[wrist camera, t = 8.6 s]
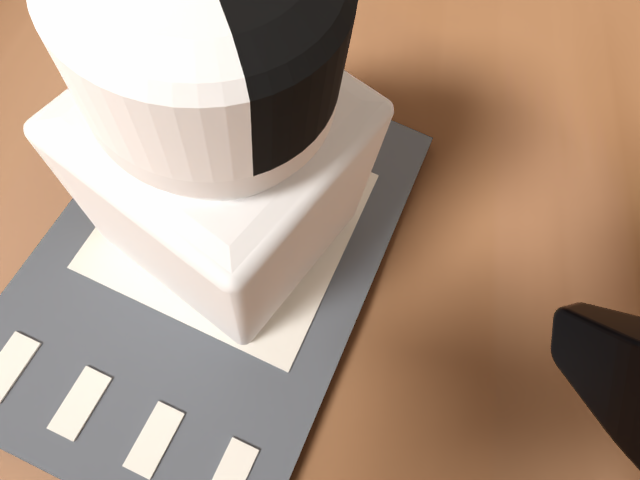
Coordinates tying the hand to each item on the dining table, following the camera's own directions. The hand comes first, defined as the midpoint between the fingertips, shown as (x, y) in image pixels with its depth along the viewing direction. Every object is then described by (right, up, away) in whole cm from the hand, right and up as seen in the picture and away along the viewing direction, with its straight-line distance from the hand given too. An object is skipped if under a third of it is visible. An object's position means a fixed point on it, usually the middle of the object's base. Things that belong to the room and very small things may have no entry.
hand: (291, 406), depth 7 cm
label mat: (-4, +2, +12) cm, 13 cm away
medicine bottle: (-3, +3, +12) cm, 13 cm away
